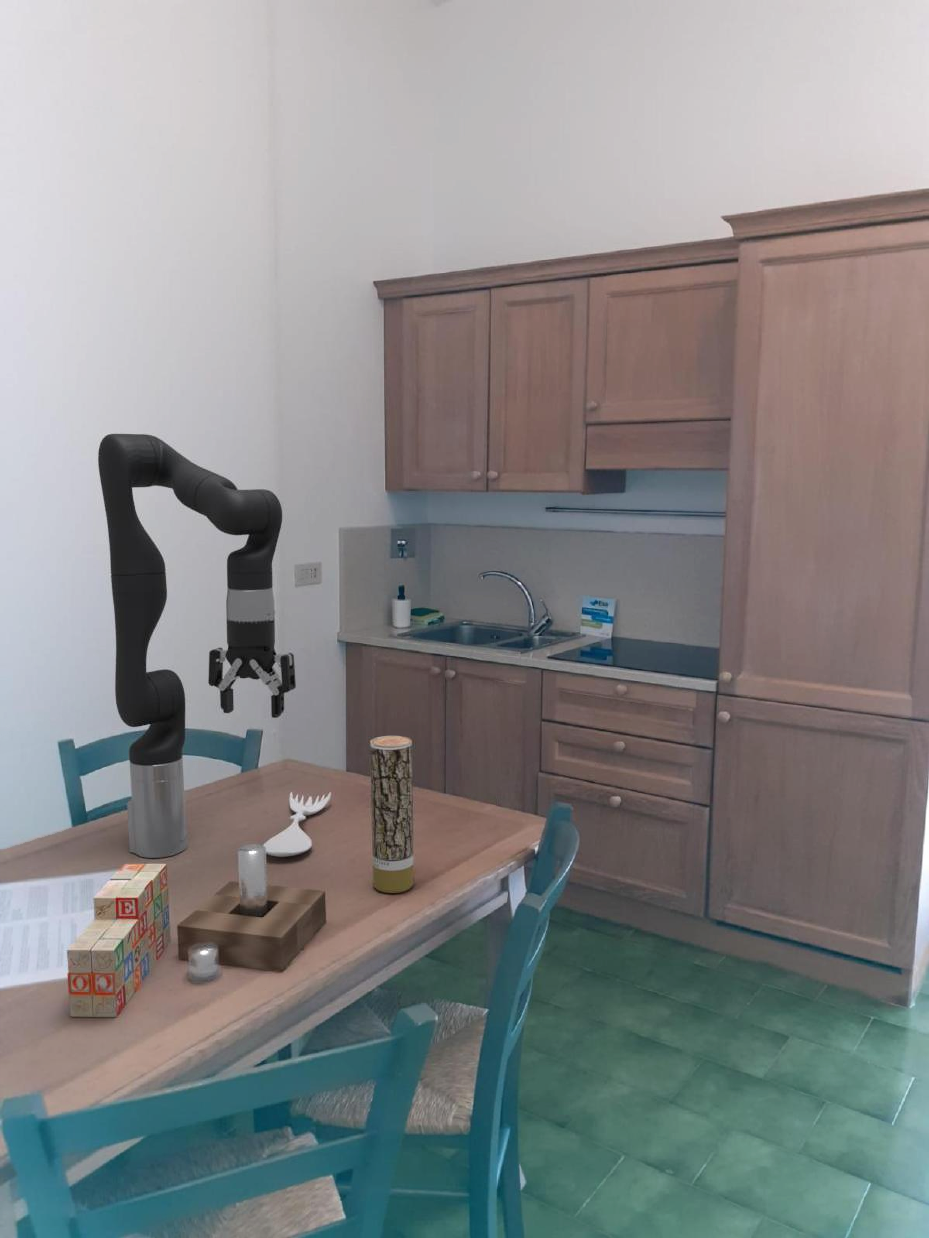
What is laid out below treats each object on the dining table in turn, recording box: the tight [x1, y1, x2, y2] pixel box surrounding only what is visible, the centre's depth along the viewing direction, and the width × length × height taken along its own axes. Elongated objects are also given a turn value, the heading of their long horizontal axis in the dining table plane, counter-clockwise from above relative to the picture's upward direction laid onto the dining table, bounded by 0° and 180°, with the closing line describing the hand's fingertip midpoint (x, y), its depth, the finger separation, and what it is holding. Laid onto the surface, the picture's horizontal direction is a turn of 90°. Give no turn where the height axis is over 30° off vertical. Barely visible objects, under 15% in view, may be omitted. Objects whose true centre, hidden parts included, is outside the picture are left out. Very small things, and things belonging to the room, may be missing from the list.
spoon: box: [262, 791, 332, 858], centre depth 192 cm, size 9×32×4 cm, turn 179°
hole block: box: [176, 880, 327, 972], centre depth 148 cm, size 16×16×5 cm
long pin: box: [237, 843, 268, 918], centre depth 147 cm, size 4×4×14 cm
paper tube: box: [369, 735, 415, 894], centre depth 165 cm, size 7×7×25 cm
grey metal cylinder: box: [188, 942, 221, 984], centre depth 137 cm, size 4×4×4 cm
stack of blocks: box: [66, 863, 172, 1018], centre depth 137 cm, size 21×6×12 cm, turn 178°
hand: (252, 714), depth 162 cm, fingers open, 8 cm apart
